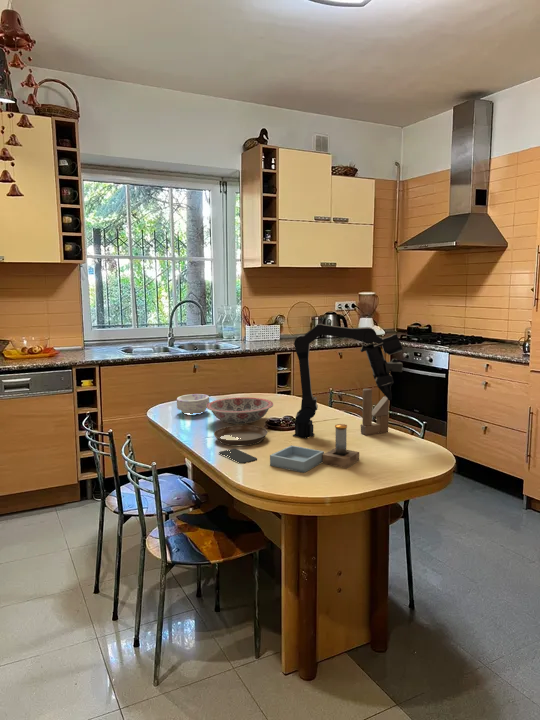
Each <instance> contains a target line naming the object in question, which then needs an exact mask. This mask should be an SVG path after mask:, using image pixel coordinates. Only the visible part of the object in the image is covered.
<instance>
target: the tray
mask: <svg viewBox="0 0 540 720" xmlns="http://www.w3.org/2000/svg"><path fill="white" fill-rule="evenodd" d="M323 454H325V451H324V450H318V449H313V448H309V447H302V446H297V445H289V446H287V447H284V448H283V449H281V450H278V451H276V452H274V453H272V454H269V466H271V467H275V468H281V469H284V470H289V471H293V472H298V473H302V474H304V473H306V472H308V471H310V470H312V469H313V468H315V467H317V466H318V465H320V464H323Z"/></svg>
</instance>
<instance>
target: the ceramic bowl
mask: <svg viewBox="0 0 540 720" xmlns="http://www.w3.org/2000/svg"><path fill="white" fill-rule="evenodd" d="M206 407H207V408H206V410H209V411H211V413H212V415H213V416H214V417H216V419H218V420H220V421H221V422H224V423H227V424H232V425H233V424H235V425H246V424H251V423H254V422H257V421H259V420H261V419H262V418H263V417H264V416H265V415H266V414H267V412H269V410H270V409H271V408H273V407H274V402H273V401H271V400H269V399H266V398H260V397H250V396H249V397H248V396H247V397H241V396H240V397H227V398H221V399H216V400H213V401H209V403H208V404H207V406H206Z"/></svg>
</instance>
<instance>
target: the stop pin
mask: <svg viewBox="0 0 540 720" xmlns="http://www.w3.org/2000/svg"><path fill="white" fill-rule="evenodd" d="M334 428H335V448H336V455H340V456H345V455H346V450H347V428H348V425H347V424H345V423H337V424H334Z"/></svg>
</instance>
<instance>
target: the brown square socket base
mask: <svg viewBox="0 0 540 720" xmlns="http://www.w3.org/2000/svg"><path fill="white" fill-rule="evenodd" d="M357 462H360V451H355V450H350V449H346V455H345V456H340V455H336V447H334V448H332V449H330V450H329V451H327V452H324V454H323V462H322V464H325V465H330V466H334V467H339V468H344V469H349V468H350V467H351V466H353V465H355V464H356V463H357Z"/></svg>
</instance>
